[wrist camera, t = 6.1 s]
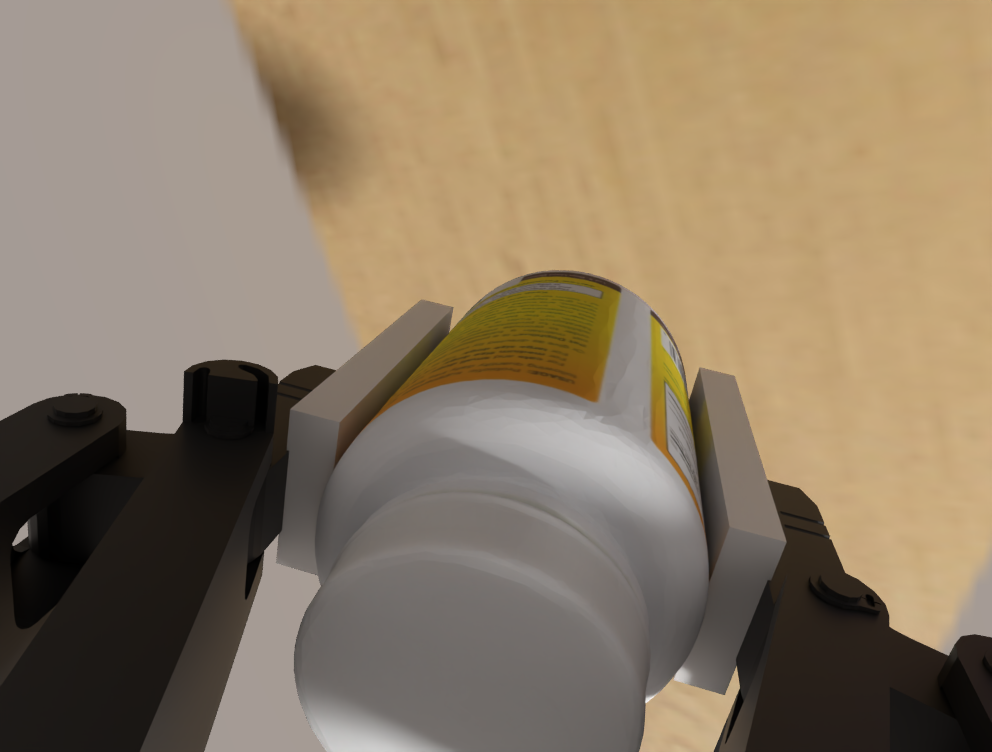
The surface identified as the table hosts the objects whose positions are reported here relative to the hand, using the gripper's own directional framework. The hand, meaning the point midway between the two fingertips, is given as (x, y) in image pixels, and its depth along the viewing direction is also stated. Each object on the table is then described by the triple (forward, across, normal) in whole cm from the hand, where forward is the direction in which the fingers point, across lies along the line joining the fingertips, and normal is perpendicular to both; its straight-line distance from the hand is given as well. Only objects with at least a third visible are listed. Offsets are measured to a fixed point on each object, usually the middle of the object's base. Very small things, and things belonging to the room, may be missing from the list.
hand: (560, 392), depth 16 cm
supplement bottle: (+1, 0, 0) cm, 1 cm away
